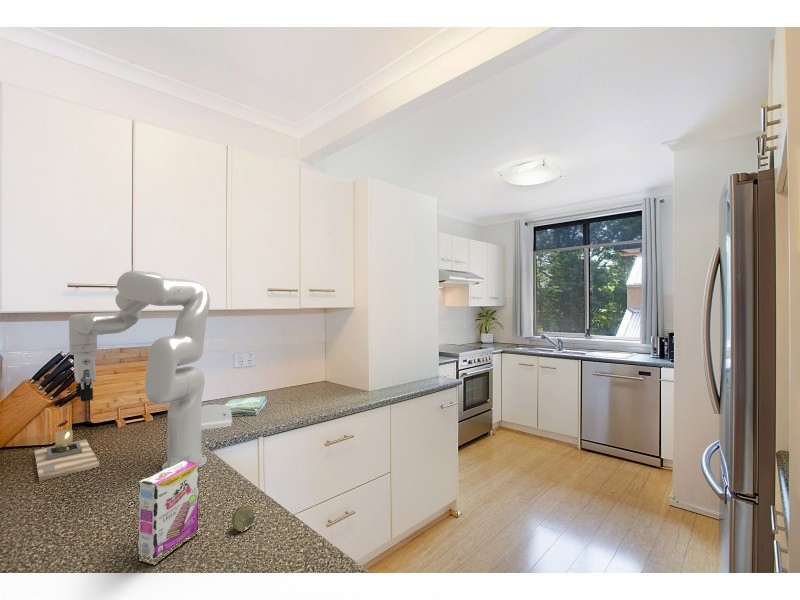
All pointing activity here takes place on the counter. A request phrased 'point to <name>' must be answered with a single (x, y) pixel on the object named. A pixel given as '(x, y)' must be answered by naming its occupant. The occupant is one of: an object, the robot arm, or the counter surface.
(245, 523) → the lime
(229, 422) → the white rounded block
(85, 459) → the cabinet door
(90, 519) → the counter surface
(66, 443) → the hinge barrel
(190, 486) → the candy bar box
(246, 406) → the towel
